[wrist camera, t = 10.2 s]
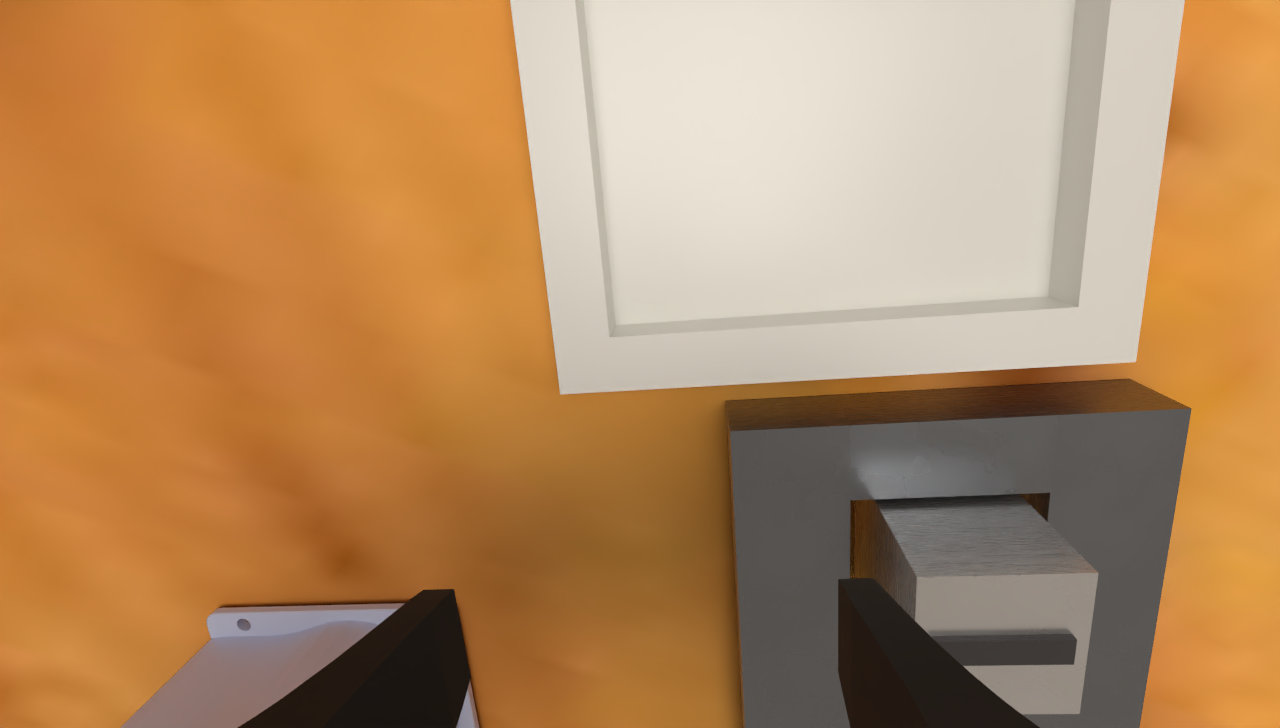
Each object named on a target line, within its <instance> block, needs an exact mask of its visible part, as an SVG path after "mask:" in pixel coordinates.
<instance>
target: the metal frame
mask: <svg viewBox="0 0 1280 728" xmlns="http://www.w3.org/2000/svg"><path fill="white" fill-rule="evenodd" d="M1190 414H1191V408H1189V407H1187V406H1185V405H1183V404H1181V403H1179V402H1177V401H1175V400H1173V399H1171V398H1168V397H1166V396H1164V395H1162V394H1160V393H1158V392H1156V391H1154V390H1152V389H1150V388H1148V387H1145V386H1143V385H1141V384H1139V383H1137V382H1135V381H1133V380H1131V379H1121V380H1103V381H1084V382H1066V383H1047V384H1029V385H1010V386H992V387H973V388H955V389H936V390H918V391H899V392H881V393H862V394H844V395H826V396H807V397H789V398H770V399H752V400H733V401H726V416H727V436H728V455H729V474H730V494H731V513H732V533H733V552H734V572H735V591H736V611H737V630H738V650H739V669H740V689H741V708H742V728H850V724H849V719H848V715H847V711H846V706H845V702H844V697H843V693H842V688H841V683H840V679H839V674H838V579H850V500H873V499H899V498H925V497H951V496H977V495H1003V494H1020V495H1021V496H1022V497H1023V498H1024V499H1025V500H1026V501H1027V502H1028V503H1029V504H1030V505H1031V506H1032V507H1033V508H1034V509H1035V510H1036V511H1037V512H1038V513H1039V514H1040V515H1041V516H1042V517H1043V518H1044V519H1045V520H1046V521H1047V522H1048V523H1049V524H1050V525H1051V526H1052V527H1053V528H1054V529H1055V530H1056V531H1057V532H1058V533H1059V534H1060V535H1061V536H1062V537H1063V538H1064V539H1065V540H1066V541H1067V542H1068V543H1069V544H1070V545H1071V546H1072V547H1073V548H1074V549H1075V550H1076V551H1077V552H1078V553H1079V554H1080V555H1081V556H1082V557H1083V558H1084V559H1085V560H1086V561H1087V562H1088V563H1089V564H1090V565H1091V566H1092V567H1093V568H1094V569H1095V570H1096V571H1097V572H1098V573H1099V574H1098V581H1097V588H1096V596H1095V603H1094V611H1093V618H1092V626H1091V633H1090V641H1089V648H1088V655H1087V663H1086V670H1085V678H1084V685H1083V693H1082V700H1081V708H1080V714H1022V715H1023V716H1025V717H1026V718H1027V719H1029V720H1030V721H1032V722H1033V723H1034V724H1036V725H1037V726H1038V727H1040V728H1139V726H1140V720H1141V714H1142V708H1143V702H1144V696H1145V690H1146V684H1147V677H1148V671H1149V665H1150V659H1151V653H1152V647H1153V641H1154V635H1155V628H1156V622H1157V616H1158V610H1159V604H1160V598H1161V592H1162V586H1163V579H1164V573H1165V567H1166V561H1167V555H1168V549H1169V543H1170V537H1171V530H1172V524H1173V518H1174V512H1175V506H1176V500H1177V494H1178V488H1179V482H1180V475H1181V469H1182V463H1183V457H1184V451H1185V445H1186V439H1187V433H1188V426H1189V420H1190Z"/></svg>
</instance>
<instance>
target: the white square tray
mask: <svg viewBox="0 0 1280 728" xmlns="http://www.w3.org/2000/svg"><path fill="white" fill-rule="evenodd" d="M510 2H511V10H512V18H513V26H514V34H515V42H516V50H517V57H518V65H519V73H520V81H521V89H522V97H523V105H524V113H525V120H526V128H527V136H528V144H529V152H530V160H531V168H532V176H533V183H534V191H535V199H536V207H537V215H538V223H539V231H540V239H541V246H542V254H543V262H544V270H545V278H546V286H547V294H548V302H549V309H550V317H551V325H552V333H553V341H554V349H555V357H556V364H557V372H558V380H559V388H560V394H578V393H596V392H614V391H631V390H649V389H667V388H684V387H702V386H720V385H738V384H755V383H773V382H791V381H808V380H826V379H844V378H862V377H879V376H897V375H915V374H932V373H950V372H968V371H986V370H1003V369H1021V368H1039V367H1056V366H1074V365H1092V364H1110V363H1127V362H1136V358H1137V350H1138V343H1139V335H1140V328H1141V321H1142V313H1143V306H1144V298H1145V291H1146V284H1147V276H1148V269H1149V261H1150V254H1151V246H1152V239H1153V232H1154V224H1155V217H1156V209H1157V202H1158V195H1159V187H1160V180H1161V172H1162V165H1163V158H1164V150H1165V143H1166V135H1167V128H1168V120H1169V113H1170V106H1171V98H1172V91H1173V83H1174V76H1175V69H1176V61H1177V54H1178V46H1179V39H1180V31H1181V24H1182V17H1183V9H1184V2H1185V0H510Z"/></svg>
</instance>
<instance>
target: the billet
mask: <svg viewBox="0 0 1280 728" xmlns="http://www.w3.org/2000/svg"><path fill="white" fill-rule="evenodd" d="M854 574H855V576H856V578H873V579H875V580H876V581H877V582H878V583H879V584H880V585H881V586H882V587H883V588H884V589H885V590H886V591H887V592H888V593H889V594H890V596H891V597H892V598H893V599H894V600H895V601H896V602H897V603H898V604H899V605H900V606H901V607H902V608H903V609H904V610H905V611H906V612H907V613H908V614H909V615H910V616H911V617H912V618H913V619H914V620H915V621H916V622H917V623H918V624H919V625H920V626H921V627H922V628H923V629H924V630H925V631H926V632H927V633H928V634H929V635H930V636H931V637H932V638H933V639H934V640H935V641H936V642H938V643H939V644H940V645H941V646H942V647H943V648H944V649H945V650H946V651H947V652H948V653H949V654H950V655H951V656H952V657H954V658H955V659H956V660H957V661H958V662H959V663H960V664H961V665H962V666H963V667H965V668H966V669H967V670H968V671H969V672H970V673H971V674H972V675H974V676H975V677H976V678H977V679H978V680H980V681H981V682H982V683H983V684H984V685H986V686H987V687H988V688H989V689H990V690H991V691H993V692H994V693H995V694H996V695H997V696H999V697H1000V698H1001V699H1002V700H1004V701H1005V702H1006V703H1008V704H1009V705H1010V706H1011V707H1013V708H1014V709H1015V710H1017V711H1018V712H1019V713H1021V714H1080V708H1081V700H1082V693H1083V685H1084V678H1085V670H1086V663H1087V655H1088V648H1089V641H1090V633H1091V626H1092V618H1093V611H1094V603H1095V596H1096V588H1097V581H1098V574H1099V573H1098V572H1097V571H1096V570H1095V569H1094V568H1093V567H1092V566H1091V565H1090V564H1089V563H1088V562H1087V561H1086V560H1085V559H1084V558H1083V557H1082V556H1081V555H1080V554H1079V553H1078V552H1077V551H1076V550H1075V549H1074V548H1073V547H1072V546H1071V545H1070V544H1069V543H1068V542H1067V541H1066V540H1065V539H1064V538H1063V537H1062V536H1061V535H1060V534H1059V533H1058V532H1057V531H1056V530H1055V529H1054V528H1053V527H1052V526H1051V525H1050V524H1049V523H1048V522H1047V521H1046V520H1045V519H1044V518H1043V517H1042V516H1041V515H1040V514H1039V513H1038V512H1037V511H1036V510H1035V509H1034V508H1033V507H1032V506H1031V505H1030V504H1029V503H1028V502H1027V501H1026V500H1025V499H1024V498H1023V497H1022V496H1021V495H1020V494H1003V495H977V496H951V497H925V498H899V499H873V500H855V553H854Z"/></svg>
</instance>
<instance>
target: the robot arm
mask: <svg viewBox="0 0 1280 728" xmlns="http://www.w3.org/2000/svg"><path fill="white" fill-rule="evenodd" d="M245 619H246V620H247V621H249V623H248V622H247V621H246V620H245ZM206 621H207V627H208V630H209V633H210V636H211V640H210V641H209V642H207V643H206V644H205V645H204V646H203V647H202V648H201V649H200V650H199V651H198V652H197V653H196V654H195V655H194V656H193V657H192V658H191V659H190V660H189V661H188V662H187V663H186V664H185V665H184V666H183V667H182V668H181V669H180V670H179V671H178V672H177V673H176V674H175V675H174V676H173V677H172V678H171V679H170V680H169V681H168V682H166V683H165V684H164V685H163V686H162V687H161V688H160V689H159V690H158V691H157V692H156V693H155V694H154V695H153V696H152V697H151V698H150V699H149V700H148V701H147V702H146V703H145V704H144V705H143V706H142V707H141V708H140V709H139V710H138V711H137V712H136V713H135V714H134V715H133V716H132V717H131V718H130V719H129V720H128V721H127V722H126V723H124V724H123V725H122V726H121V727H120V728H479V724H478V719H477V713H476V708H475V703H474V698H473V693H472V688H471V683H470V679H471V676H470V670H469V665H468V660H467V655H466V650H465V644H464V639H463V634H462V629H461V624H460V619H459V613H458V608H457V603H456V598H455V593H454V589H446V590H423V591H422V592H420V593H419V594H417V595H416V596H414V597H413V598H412V599H410V600H409V601H408V602H406V603H393V604H353V605H313V606H273V607H233V608H218V609H216V610H215V611H214V612H212V613H211V614H210V615H209V616H208V618H207V620H206ZM838 674H839V679H840V683H841V688H842V693H843V697H844V702H845V706H846V711H847V715H848V719H849V724H850V728H1040V727H1038V726H1037V725H1036V724H1034V723H1033V722H1032V721H1030V720H1029V719H1027V718H1026V717H1025V716H1023V715H1022V714H1021V713H1019V712H1018V711H1017V710H1015V709H1014V708H1013V707H1011V706H1010V705H1009V704H1008V703H1006V702H1005V701H1004V700H1002V699H1001V698H1000V697H999V696H997V695H996V694H995V693H994V692H993V691H991V690H990V689H989V688H988V687H987V686H986V685H984V684H983V683H982V682H981V681H980V680H978V679H977V678H976V677H975V676H974V675H972V674H971V673H970V672H969V671H968V670H967V669H966V668H965V667H963V666H962V665H961V664H960V663H959V662H958V661H957V660H956V659H955V658H954V657H952V656H951V655H950V654H949V653H948V652H947V651H946V650H945V649H944V648H943V647H942V646H941V645H940V644H939V643H938V642H936V641H935V640H934V639H933V638H932V637H931V636H930V635H929V634H928V633H927V632H926V631H925V630H924V629H923V628H922V627H921V626H920V625H919V624H918V623H917V622H916V621H915V620H914V619H913V618H912V617H911V616H910V615H909V614H908V613H907V612H906V611H905V610H904V609H903V608H902V607H901V606H900V605H899V604H898V603H897V602H896V601H895V600H894V599H893V598H892V597H891V596H890V594H889V593H888V592H887V591H886V590H885V589H884V588H883V587H882V586H881V585H880V584H879V583H878V582H877V581H876V580H875V579H873V578H855V579H838Z"/></svg>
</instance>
